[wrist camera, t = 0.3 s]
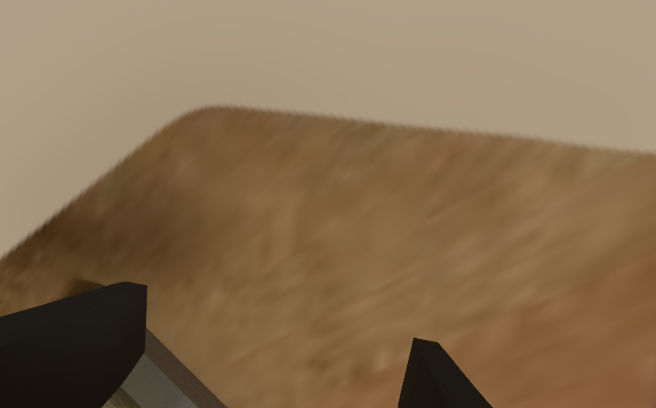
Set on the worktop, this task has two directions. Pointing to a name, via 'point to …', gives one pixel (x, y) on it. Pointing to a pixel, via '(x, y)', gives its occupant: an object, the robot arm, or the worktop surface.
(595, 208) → the worktop surface
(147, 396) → the socket plate
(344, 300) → the worktop surface
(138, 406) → the brass peg
